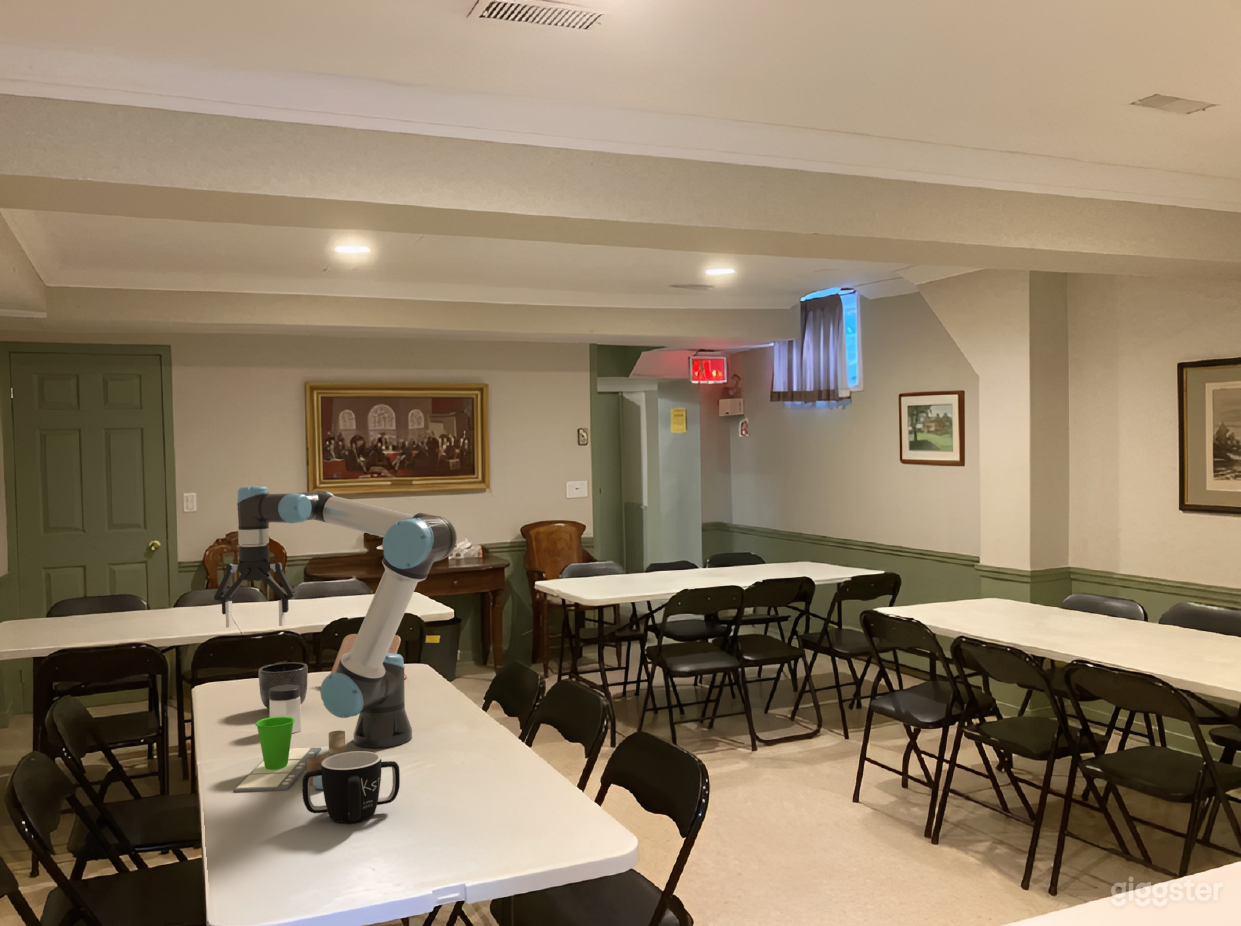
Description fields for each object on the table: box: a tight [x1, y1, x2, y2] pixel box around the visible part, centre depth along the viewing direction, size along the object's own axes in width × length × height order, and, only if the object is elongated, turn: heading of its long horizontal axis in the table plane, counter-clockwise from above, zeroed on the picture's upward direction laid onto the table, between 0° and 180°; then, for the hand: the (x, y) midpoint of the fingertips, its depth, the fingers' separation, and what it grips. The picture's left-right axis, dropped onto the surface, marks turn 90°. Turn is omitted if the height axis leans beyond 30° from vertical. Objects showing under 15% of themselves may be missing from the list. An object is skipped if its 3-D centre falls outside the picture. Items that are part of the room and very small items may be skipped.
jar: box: [268, 685, 302, 734], centre depth 267 cm, size 9×8×12 cm
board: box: [233, 747, 322, 793], centre depth 234 cm, size 12×30×1 cm, turn 3°
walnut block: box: [305, 754, 329, 786], centre depth 225 cm, size 5×5×5 cm
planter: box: [258, 662, 309, 710], centre depth 290 cm, size 14×14×13 cm
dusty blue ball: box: [312, 776, 323, 790], centre depth 219 cm, size 4×4×4 cm
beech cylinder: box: [328, 730, 346, 755], centre depth 243 cm, size 4×4×6 cm
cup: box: [254, 716, 295, 770], centre depth 234 cm, size 9×9×11 cm
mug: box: [301, 750, 401, 824], centre depth 202 cm, size 16×16×12 cm
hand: (255, 625), depth 253 cm, fingers open, 13 cm apart
